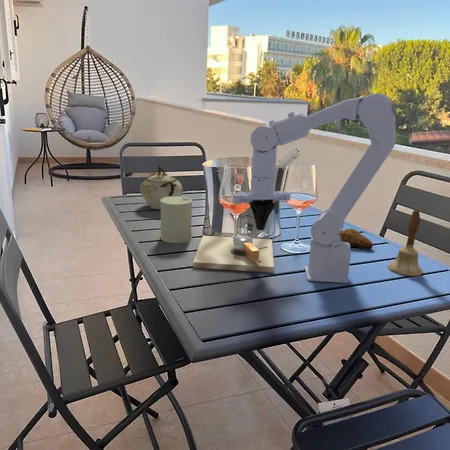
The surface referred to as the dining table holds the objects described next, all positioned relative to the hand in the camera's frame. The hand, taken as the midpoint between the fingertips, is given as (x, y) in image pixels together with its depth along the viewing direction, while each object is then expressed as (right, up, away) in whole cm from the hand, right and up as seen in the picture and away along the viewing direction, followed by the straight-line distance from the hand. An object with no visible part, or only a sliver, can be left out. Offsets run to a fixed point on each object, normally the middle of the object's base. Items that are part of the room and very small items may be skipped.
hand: (260, 229), depth 114 cm
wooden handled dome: (-3, -7, +4) cm, 8 cm away
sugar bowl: (-32, +7, +51) cm, 60 cm away
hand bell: (+38, -11, +3) cm, 39 cm away
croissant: (+28, -5, +20) cm, 35 cm away
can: (-23, -3, +20) cm, 31 cm away
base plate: (-6, -7, +8) cm, 12 cm away
